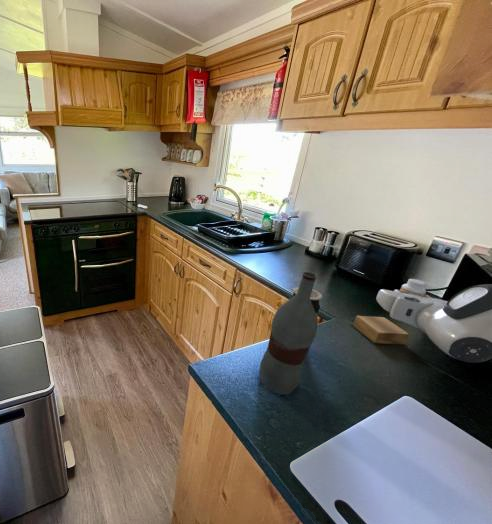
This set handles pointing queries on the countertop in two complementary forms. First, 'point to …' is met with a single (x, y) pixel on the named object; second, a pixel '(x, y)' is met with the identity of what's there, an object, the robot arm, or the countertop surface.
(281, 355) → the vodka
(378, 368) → the countertop surface
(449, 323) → the robot arm
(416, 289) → the supplement bottle
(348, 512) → the countertop surface
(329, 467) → the countertop surface
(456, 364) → the countertop surface
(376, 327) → the oak block
